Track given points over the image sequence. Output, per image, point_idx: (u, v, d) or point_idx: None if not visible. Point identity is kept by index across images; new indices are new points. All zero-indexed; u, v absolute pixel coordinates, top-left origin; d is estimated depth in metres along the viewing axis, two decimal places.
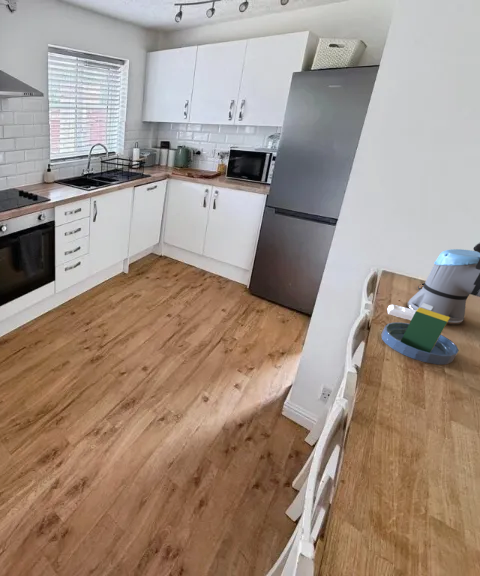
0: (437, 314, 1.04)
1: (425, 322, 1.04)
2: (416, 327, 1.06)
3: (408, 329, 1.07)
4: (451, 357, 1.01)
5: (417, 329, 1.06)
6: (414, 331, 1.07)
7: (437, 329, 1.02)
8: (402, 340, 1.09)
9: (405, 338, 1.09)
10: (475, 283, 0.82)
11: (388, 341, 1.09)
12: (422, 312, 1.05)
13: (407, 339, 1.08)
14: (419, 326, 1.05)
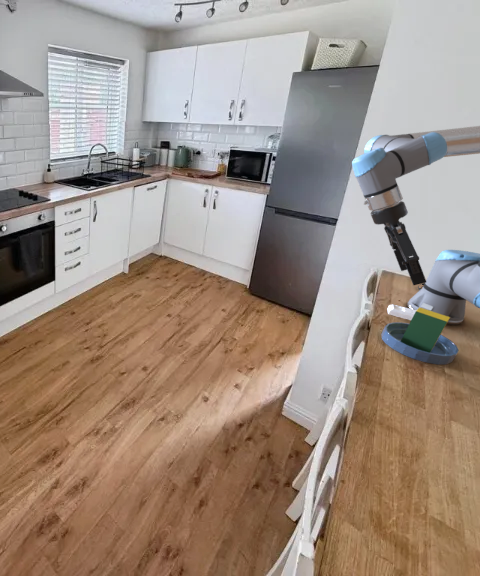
0: (437, 314, 1.04)
1: (425, 322, 1.04)
2: (416, 327, 1.06)
3: (408, 329, 1.07)
4: (451, 357, 1.01)
5: (417, 329, 1.06)
6: (414, 331, 1.07)
7: (437, 329, 1.02)
8: (402, 340, 1.09)
9: (405, 338, 1.09)
10: None
11: (388, 341, 1.09)
12: (422, 312, 1.05)
13: (407, 339, 1.08)
14: (419, 326, 1.05)
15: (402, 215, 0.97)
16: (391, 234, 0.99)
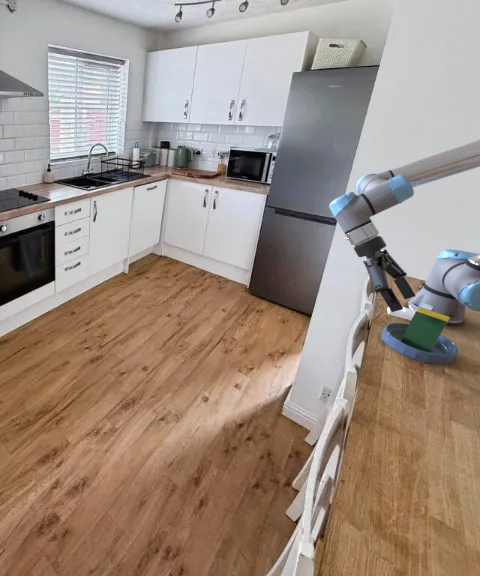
0: (437, 314, 1.04)
1: (425, 322, 1.04)
2: (416, 327, 1.06)
3: (408, 329, 1.07)
4: (451, 357, 1.01)
5: (417, 329, 1.06)
6: (414, 331, 1.07)
7: (437, 329, 1.02)
8: (402, 340, 1.09)
9: (405, 338, 1.09)
10: None
11: (388, 341, 1.09)
12: (422, 312, 1.05)
13: (407, 339, 1.08)
14: (419, 326, 1.05)
15: (376, 249, 1.08)
16: (370, 266, 1.10)
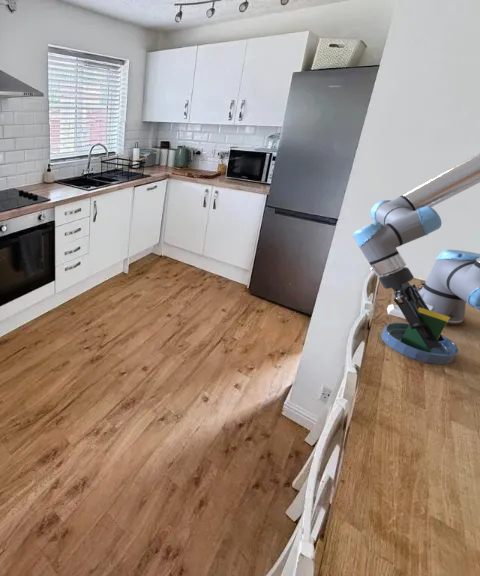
0: (437, 314, 1.04)
1: (425, 322, 1.04)
2: None
3: (408, 329, 1.07)
4: (451, 357, 1.01)
5: None
6: (414, 331, 1.07)
7: (437, 329, 1.02)
8: (402, 340, 1.09)
9: (405, 338, 1.09)
10: None
11: (388, 341, 1.09)
12: (422, 312, 1.05)
13: (407, 339, 1.08)
14: None
15: (403, 281, 1.05)
16: None
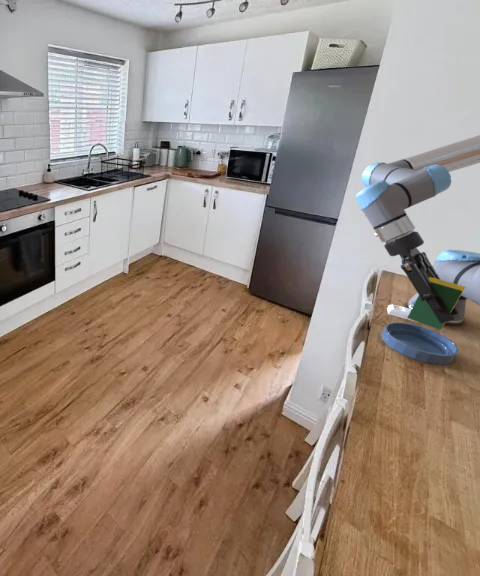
0: (450, 284, 0.92)
1: (437, 292, 0.92)
2: None
3: (417, 301, 0.95)
4: (451, 357, 1.01)
5: None
6: (424, 303, 0.94)
7: (451, 300, 0.90)
8: (410, 314, 0.97)
9: (414, 312, 0.96)
10: None
11: (388, 341, 1.09)
12: (433, 281, 0.92)
13: (415, 313, 0.96)
14: None
15: (412, 246, 0.93)
16: None
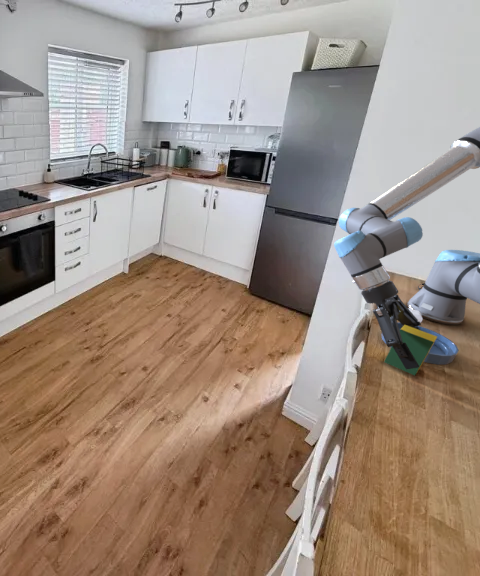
0: (423, 333, 0.95)
1: (410, 342, 0.95)
2: None
3: (392, 348, 0.99)
4: (451, 357, 1.01)
5: None
6: None
7: (423, 350, 0.94)
8: (386, 360, 1.01)
9: (389, 358, 1.00)
10: None
11: None
12: (407, 330, 0.96)
13: (391, 359, 1.00)
14: None
15: (387, 296, 0.96)
16: None
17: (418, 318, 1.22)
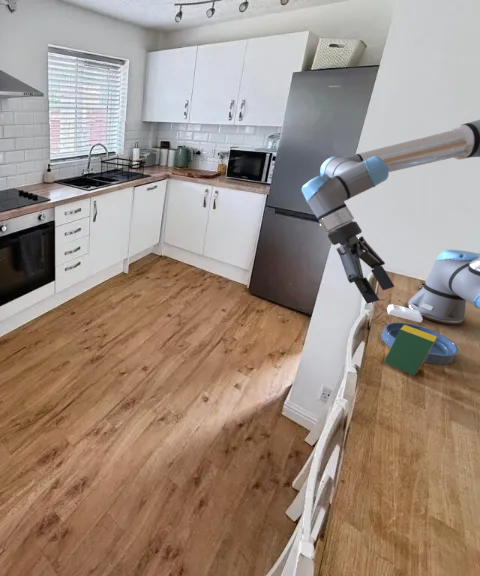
0: (423, 333, 0.95)
1: (410, 342, 0.95)
2: (401, 347, 0.97)
3: (392, 348, 0.99)
4: (451, 357, 1.01)
5: (401, 349, 0.97)
6: (398, 351, 0.98)
7: (423, 350, 0.94)
8: (386, 360, 1.01)
9: (389, 358, 1.00)
10: None
11: (388, 341, 1.09)
12: (407, 330, 0.96)
13: (391, 359, 1.00)
14: (404, 346, 0.97)
15: (350, 235, 0.99)
16: None
17: (418, 318, 1.22)
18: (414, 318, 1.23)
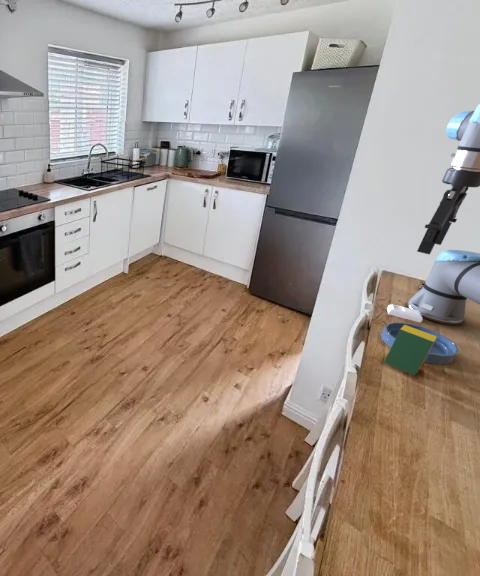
0: (423, 333, 0.95)
1: (410, 342, 0.95)
2: (401, 347, 0.97)
3: (392, 348, 0.99)
4: (451, 357, 1.01)
5: (401, 349, 0.97)
6: (398, 351, 0.98)
7: (423, 350, 0.94)
8: (386, 360, 1.01)
9: (389, 358, 1.00)
10: None
11: (388, 341, 1.09)
12: (407, 330, 0.96)
13: (391, 359, 1.00)
14: (404, 346, 0.97)
15: (470, 184, 0.91)
16: None
17: (418, 318, 1.22)
18: (414, 318, 1.23)
